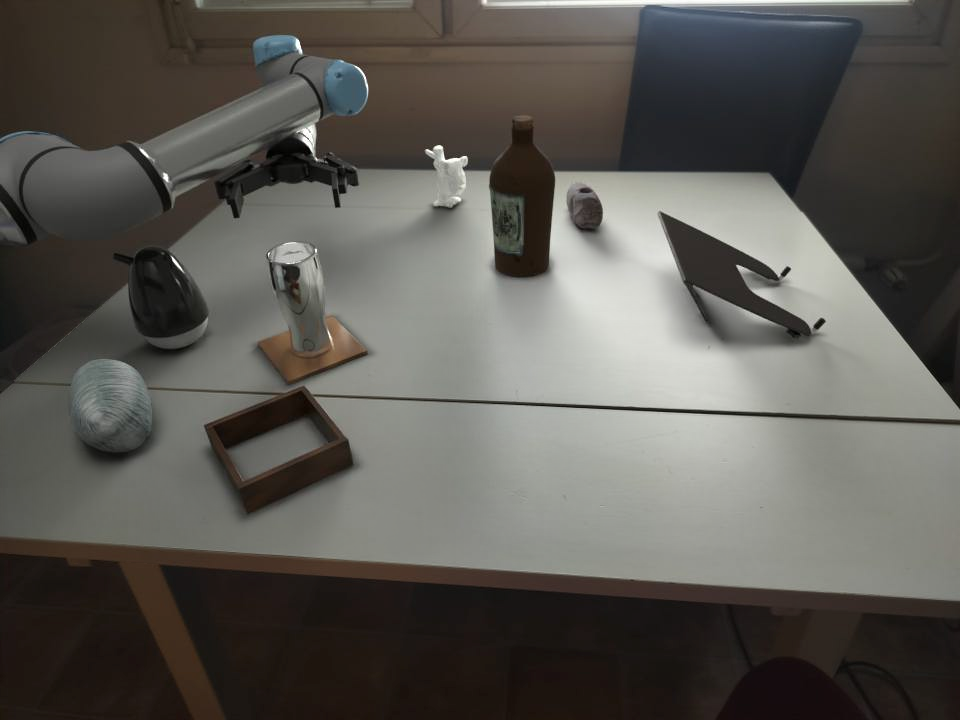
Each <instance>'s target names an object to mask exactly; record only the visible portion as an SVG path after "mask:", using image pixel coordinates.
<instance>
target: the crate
mask: <svg viewBox="0 0 960 720" xmlns="http://www.w3.org/2000/svg"><path fill="white" fill-rule="evenodd" d="M305 416H307V417H308V418H309V419H310V421H311V422H312V423H313V425H314V426H315V427H316V429H317V430H318V431H319V432H320V434H321V435H322V436H323V438H324V440H325V441H326V442H327V443H326V444H324V445H322V446H319V447H317V448H315V449H312V450H310V451H307V452H306V453H303V454H301V455H299V456H297V457H294V458H292V459H290V460H287V461H286V462H284V463H281V464H279V465H276V466H275V467H272V468H269V469H268V470H265V471H263V472H261V473H258V474H256V475H254V476H252V477H249V478H247V479H245V480H244V479H243V478H242V476H241V473H240V472H239V471H238V469H237V467H236V465H235V463H234V462H233V460H232V458H231V457H230V454H229V453H228V451H227V449H228V448H231V447H233V446H236V445H238V444H241V443H243V442H245V441H247V440H250V439H252V438H255V437H257V436H259V435H262V434H264V433H266V432H270V431H271V430H274V429H277V428H279V427H280V426H284V425H286V424H288V423H291V422H293V421H296V420H298V419H300V418H302V417H305ZM203 427H204V430H205V433H206V435H207V438H208V441H209V445H210V446H211V450H212V452H213V453H214V455H215V458H216V459H217V461H218V463H219V464H220V467H221V469H222V470H223V473H224V474H225V476H226V477H227V479H228V481H229V483H230V485H231V487H232V489H233V491H234V493H235V494H236V497H237V498H238V499H239V502H240V503H241V505H242V507H243V510H244V511H245V513H246V515H250V514H252V513H254V512H256V511H259V510H261V509H263V508H265V507H267V506H269V505H271V504H273V503H275V502H278V501H280V500H282V499H284V498H287V497H288V496H290V495H292V494H295V493H297V492H299V491H301V490H303V489H306V488H308V487H310V486H312V485H314V484H316V483H319V482H320V481H323V480H325V479H327V478H328V477H331V476H333V475H335V474H337V473H339V472H342V471H343V470H346V469H348V468H351V467H353V466H354V460H353V455H352V450H351V444H350V440H349V438H348V437H347V436H346V434H345V433H344V432H343V430H341V428H340V427H339V426H338V425H337V424H336V422H335V421H334V419H333V418H332V417H331V416H330V415H329V413H328V412H327V411H326V409H325V408H324V407H323V406H322V405H321V403H319V401H318V400H317V399H316V397H315V396H314V395H313V393H311V391H310V390H309V388H308V387H307V386H306V385H305V384H304V385H301V386H299V387H297V388H293V389H292V390H289V391H286V392H283V393H281V394H279V395H276V396H274V397H271V398H269V399H266V400H263V401H261V402H258V403H256V404H253V405H251V406H249V407H246V408H243V409H240V410H237V411H236V412H233V413H231V414H228V415H226V416H224V417H220V418H218V419H215V420H213V421H210V422H208V423H205V424H204V425H203Z"/></svg>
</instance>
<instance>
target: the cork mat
mask: <svg viewBox="0 0 960 720" xmlns="http://www.w3.org/2000/svg"><path fill="white" fill-rule="evenodd" d="M325 319H326V325H327V328H328V330H329V333H330V335H331V337H332V341H333V344H332V346H331V348H330V349H329V350H328V351H327V352H325V353H323V354H321V355H319V356H315V357H308V358H305V357H299V356H296V355H294V354H293V353H292V352H291V350H290V337H289V330H287V331H284V332H282V333H279V334H276V335H272V336H270V337H267V338H265V339H262V340H259V341H257V342H256V343H257V346H258V347H259V348H260V350H261V351H262V352H263V354H264V355H265V356H266V357H267V359H268V360H269V361H270V363H271V364H272V366H274V368H275V369H276V370H277V372H278V373H279V374H280V376H281V377H282V378H283V379H284V381H285V382H286V383H287V384H288V385H291V384H293V383H294V384H295V383H297V382H299V381H301V380H304V379H307V378H310V377H313V376H314V375H316V374H319V373H322V372H325V371H327V370H330V369H332V368H334V367H337V366H339V365H342V364H345V363H347V362H348V363H349V362H350V361H353V360H355V359H358V358H361V357H363V356H365V355H368V350H367V348H365V347H364V345H362V344H361V343H360V342H359V341H358V339H356V338H355V337H354V336H353V335H352V334H351V333H350V332H349V331H348V330H347V329H346V328H345V327H344V326H343V325H342V324H341V323H340V322H339V321H338V320H337V319H336V318H335V317H334V316H333V315H330V316H327V317H325Z"/></svg>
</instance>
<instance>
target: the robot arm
mask: <svg viewBox="0 0 960 720" xmlns="http://www.w3.org/2000/svg"><path fill="white" fill-rule="evenodd" d="M252 50H253V57H254V63H255V64H254V67H255V70H256V74H257V79H258V83H259V86H260V87H259V88H258V89H256V90H254V91H252V92H250V93H247V94H245V95H243V96H240V97H239V98H236V99H235V100H233V101H232V100H231V101H230V102H228V103H226V104H223V105H221V106H219V107H218V108H215V109H213V110H211V111H209V112H207V113H205V114H202V115H200V116H198V117H196V118H193V119H191V120H189V121H187V122H185V123H183V124H181V125H179V126H177V127H174V128H172V129H170V130H168V131H165V132H164V133H162V134H160V135H157V136H155V137H153V138H151V139H149V140H146V141H144V142H143V143H138V142H136V141H132V140H126V141H122V142H121V143H119V144H117V145H115V146H112V147H109V148H104V149H98V150H86V149H84V148H81V147H79V146H77V145H75V144H73V143H72V142H70V141H68V140H67V139H65V138H63V137H61V136H58V135H55V134H51V133H47V132H40V131H18V132H13V133H10V134H7V135H5V136H2V137H1V138H0V246H2V245H12V246H18V247H22V248H26V247H28V246H31V245H32V244H34V243H36V242H38V241H40V240H42V239H44V238H46V237H48V236H51V235H53V236H56V237H58V238H60V239H63V240H68V241H71V242H72V241H73V242H84V243H85V242H96V241H102V240H105V239H109V238H113V237H115V236H118V235H121V234H123V233H127V232H128V231H130V230H132V229H135V228H137V227H139V226H141V225H143V224H146V223H148V222H150V221H152V220H153V219H155V218H158V217H159V216H161V215H163V214H164V213H166V212H169V211H170V210H172V209H173V208H174V206H175V201H176V200H175V199H176V198H177V197H179V196H181V195H182V194H185V193H186V192H189V191H190V190H192V189H194V188H196V187H198V186H200V185H201V184H203V183H205V182H207V181H209V180H211V179H213V178H215V177H216V176H219V175H220V174H222V173H224V172H227V170H229V169H231V168H233V167H235V166H237V165H239V164H240V165H239V166H237V167H235V168H233V169H232V170H231V171H229V172H228V173H226V174H224V175H222V176H221V177H219V178H218V179H216V180H215V181H213V184H214V187H215V193H216V195H217V199H218V200H225V201H226V204H227V206H230V209H231V213H232V216H233V219H241V214H242V211H243V206H244V202H245V196H247V195H249V194H251V193H253V192H256V191H258V190H260V189H262V188H264V187H274V186H276V185H278V184H280V183H282V184H288V185H296V184H301V183H304V182H308V183H311V184H312V183H315V182H317V183H320V184H324V185H327V186H330V187H331V191H332V197H333V203H334V209H339V208H341V207H342V206H341V195H346V194H347V193H348V186H351V187H358V186H360V179H359V173H358V168H357V167H356V166H354V165H351V164H350V163H348V162H346V161H344V160H342V159H340V158H338V157H337V156H335V153H334V152H326V153H325V155H324V156H323V157H322V158H317V157H316V153H317V151H316V143H317V138H318V133H317V127H316V124H317V123H319V122H320V121H323V120H324V119H326V118H328V117H331V116H333V115H336V116H339V117H345V116H346V117H351V116H355V115H357V114H359V113H360V112H361V111H362V110H363V109H364V107H365V106H366V104H367V101H368V96H369V85H368V81H367V78H366V76H365V73H364V72H363V71H362V70H361V68H359V67H358V66H356V65H355V64H353V63H349V62H345V61H344V60H342V59H331V58H325V57H318V56H314V55H309V54H304V53H303V50H302V46H301V44H300V40H299V39H298V37H296V36H294V35H290V34H276V35H268V36H262V37H260V38H257V39H256V40H254V42H253V45H252ZM264 151H266V154H265V159H264V160H263V161H262V162H261V163H259V164H254V162H253V161H252V160H251V158H252V157H254V156H257V155H258V154H260V153H262V152H264Z"/></svg>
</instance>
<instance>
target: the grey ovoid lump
mask: <svg viewBox="0 0 960 720" xmlns="http://www.w3.org/2000/svg"><path fill="white" fill-rule="evenodd" d="M68 391H69V392H68V414H69V418H70V419H69V420H70V422H71V426H72V428H73V430H74V432H75V434H76V436H77V438H79V439H80V440H81V441H82V442H83V443H85V444H86V445H88V446H90V447H93V448H95V449H97V450H100V451H103V452H110V453H126V452H132V451H134V450H135V449H137V448H139V447H141V446H142V445H143V444H144V443H145V442H146V440H147V439H148V438H149V436H150V434H151V432H152V423H153V409H152V401H151V397H150V393H149V389H148V386H147V384H146V382H145V380H144V379H143V377H142V375H141V374H140V373H139V372H138V370H137V369H135V368H134V367H133V366H131V365H129V364H127V363H126V362H122V361H120V360H118V359H117V360H116V359H109V358H99V359H93V360H90V361H88V362H86V363H85V364H84V365H82V366H81V367H80V368H78V370H76V372H75V373H74V375H73V376H72V379H71V383H70V387H69V390H68Z"/></svg>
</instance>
